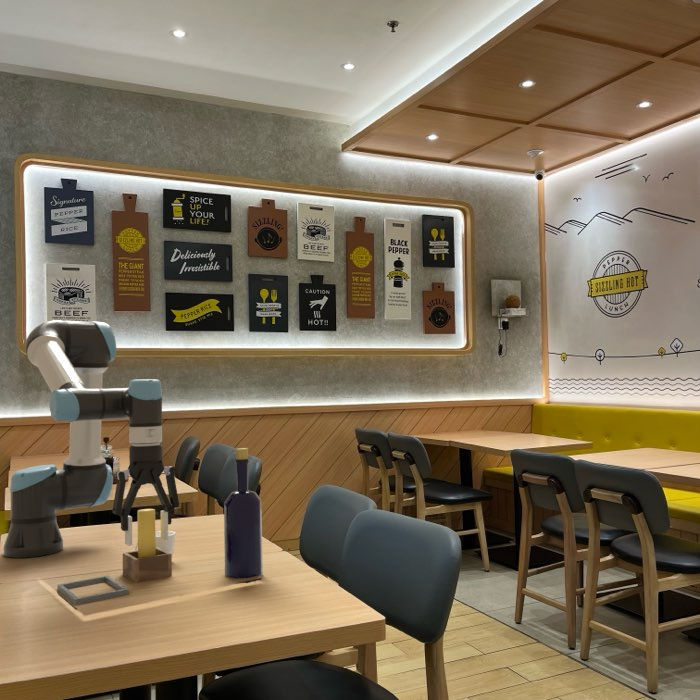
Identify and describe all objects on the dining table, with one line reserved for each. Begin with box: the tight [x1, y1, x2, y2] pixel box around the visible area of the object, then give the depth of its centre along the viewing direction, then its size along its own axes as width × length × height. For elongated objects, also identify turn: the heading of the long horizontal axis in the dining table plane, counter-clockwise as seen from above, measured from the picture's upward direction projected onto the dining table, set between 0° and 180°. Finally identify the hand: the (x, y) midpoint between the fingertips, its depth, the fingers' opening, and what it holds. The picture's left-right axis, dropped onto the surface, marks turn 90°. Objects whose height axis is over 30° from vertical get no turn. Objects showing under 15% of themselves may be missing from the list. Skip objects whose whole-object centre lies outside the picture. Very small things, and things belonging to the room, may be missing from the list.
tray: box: [56, 575, 130, 610], centre depth 151 cm, size 14×11×2 cm
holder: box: [122, 547, 173, 583], centre depth 164 cm, size 9×9×6 cm
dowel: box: [136, 508, 156, 559], centre depth 164 cm, size 4×4×15 cm
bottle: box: [223, 447, 264, 584], centre depth 164 cm, size 9×9×30 cm
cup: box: [134, 530, 177, 556], centre depth 175 cm, size 7×10×8 cm
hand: (146, 541), depth 164 cm, fingers open, 8 cm apart
